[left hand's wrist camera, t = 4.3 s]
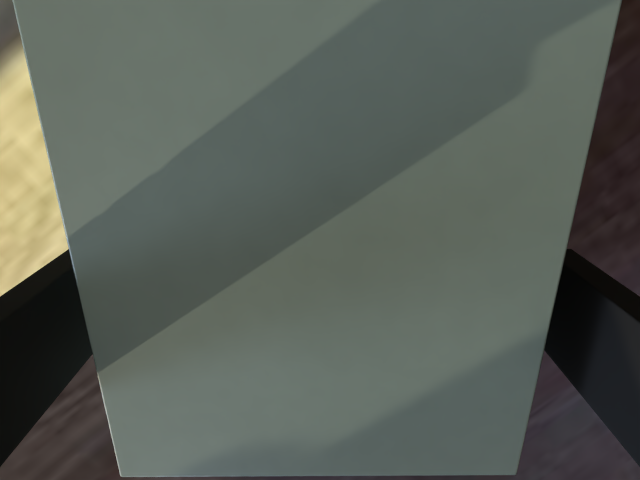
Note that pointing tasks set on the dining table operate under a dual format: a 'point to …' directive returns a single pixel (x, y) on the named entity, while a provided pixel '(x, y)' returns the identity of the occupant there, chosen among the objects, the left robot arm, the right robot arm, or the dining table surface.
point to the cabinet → (317, 221)
